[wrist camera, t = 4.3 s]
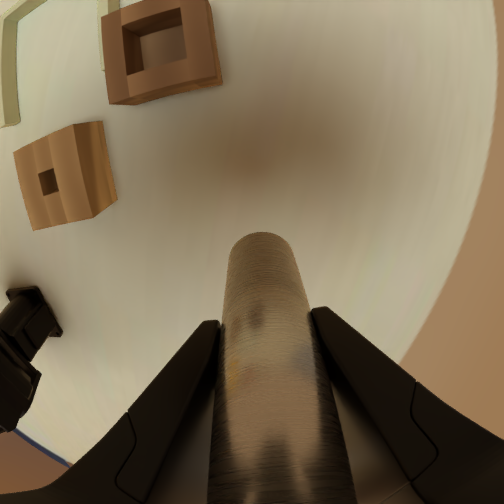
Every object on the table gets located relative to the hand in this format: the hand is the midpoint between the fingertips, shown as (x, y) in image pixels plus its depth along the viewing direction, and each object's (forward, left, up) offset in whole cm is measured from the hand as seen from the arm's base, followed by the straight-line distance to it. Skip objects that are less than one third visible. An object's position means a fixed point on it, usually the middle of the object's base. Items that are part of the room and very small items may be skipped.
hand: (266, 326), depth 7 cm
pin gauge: (0, 0, -3) cm, 3 cm away
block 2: (-4, +11, -13) cm, 17 cm away
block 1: (-13, +5, -13) cm, 19 cm away
